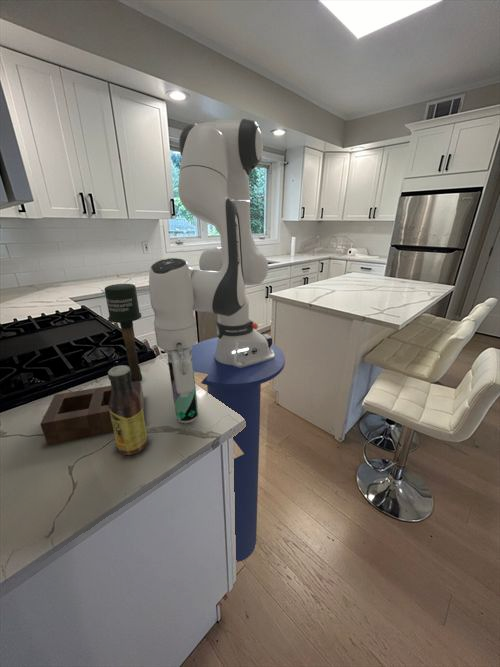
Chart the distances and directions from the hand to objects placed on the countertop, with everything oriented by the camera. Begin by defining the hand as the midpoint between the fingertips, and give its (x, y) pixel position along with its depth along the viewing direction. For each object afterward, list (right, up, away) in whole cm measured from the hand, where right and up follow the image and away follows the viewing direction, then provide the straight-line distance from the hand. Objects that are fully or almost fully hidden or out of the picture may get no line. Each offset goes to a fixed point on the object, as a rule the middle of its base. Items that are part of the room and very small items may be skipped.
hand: (182, 387), depth 67 cm
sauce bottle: (-10, -12, -5) cm, 17 cm away
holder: (-21, -9, +3) cm, 23 cm away
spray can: (+1, -8, +3) cm, 9 cm away
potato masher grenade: (-19, -2, +20) cm, 27 cm away
